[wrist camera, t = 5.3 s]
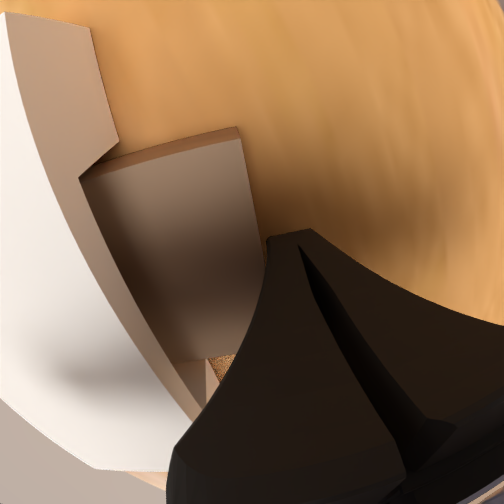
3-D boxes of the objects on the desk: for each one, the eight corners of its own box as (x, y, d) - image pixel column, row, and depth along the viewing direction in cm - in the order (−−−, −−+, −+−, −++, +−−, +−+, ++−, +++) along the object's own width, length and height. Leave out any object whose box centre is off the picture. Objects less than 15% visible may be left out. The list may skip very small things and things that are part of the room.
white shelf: (226, 395, 15) (232, 467, 11) (103, 406, 15) (94, 468, 11) (89, 27, 6) (4, 11, 2) (-64, 131, 6) (-138, 174, 2)
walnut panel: (271, 306, 12) (279, 345, 11) (74, 339, 12) (63, 373, 11) (235, 123, 8) (240, 138, 7) (-5, 204, 8) (-34, 231, 7)
